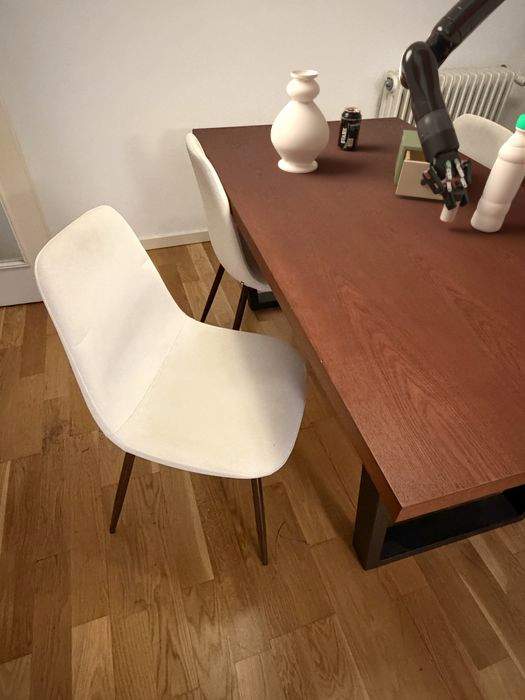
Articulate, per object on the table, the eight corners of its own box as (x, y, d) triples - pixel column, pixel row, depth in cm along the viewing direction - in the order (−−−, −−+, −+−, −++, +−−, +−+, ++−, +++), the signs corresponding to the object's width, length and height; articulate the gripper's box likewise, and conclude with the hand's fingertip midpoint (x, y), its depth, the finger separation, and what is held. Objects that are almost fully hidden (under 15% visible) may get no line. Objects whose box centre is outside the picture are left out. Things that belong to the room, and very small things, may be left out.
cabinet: (442, 190, 117) (455, 150, 109) (393, 184, 119) (403, 145, 111) (439, 171, 127) (451, 134, 119) (395, 166, 129) (404, 129, 122)
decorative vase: (332, 161, 132) (344, 69, 114) (314, 180, 120) (324, 82, 103) (282, 152, 137) (286, 63, 119) (261, 170, 125) (261, 75, 108)
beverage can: (336, 144, 143) (341, 106, 135) (355, 145, 143) (361, 106, 135) (337, 151, 138) (343, 112, 130) (357, 151, 138) (364, 112, 130)
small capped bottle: (450, 215, 100) (460, 187, 95) (456, 222, 97) (466, 194, 92) (437, 216, 100) (446, 188, 95) (442, 222, 97) (452, 194, 92)
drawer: (442, 201, 109) (454, 168, 103) (395, 196, 111) (403, 162, 105) (440, 180, 119) (450, 149, 113) (397, 175, 121) (404, 144, 115)
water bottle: (499, 235, 98) (553, 122, 80) (469, 230, 100) (515, 118, 82) (499, 223, 103) (549, 113, 85) (469, 218, 104) (513, 109, 87)
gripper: (425, 131, 87) (449, 207, 88) (471, 122, 92) (493, 194, 93) (403, 149, 95) (424, 219, 96) (446, 140, 99) (467, 207, 100)
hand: (458, 206), depth 94 cm, fingers closed on small capped bottle, 3 cm apart
